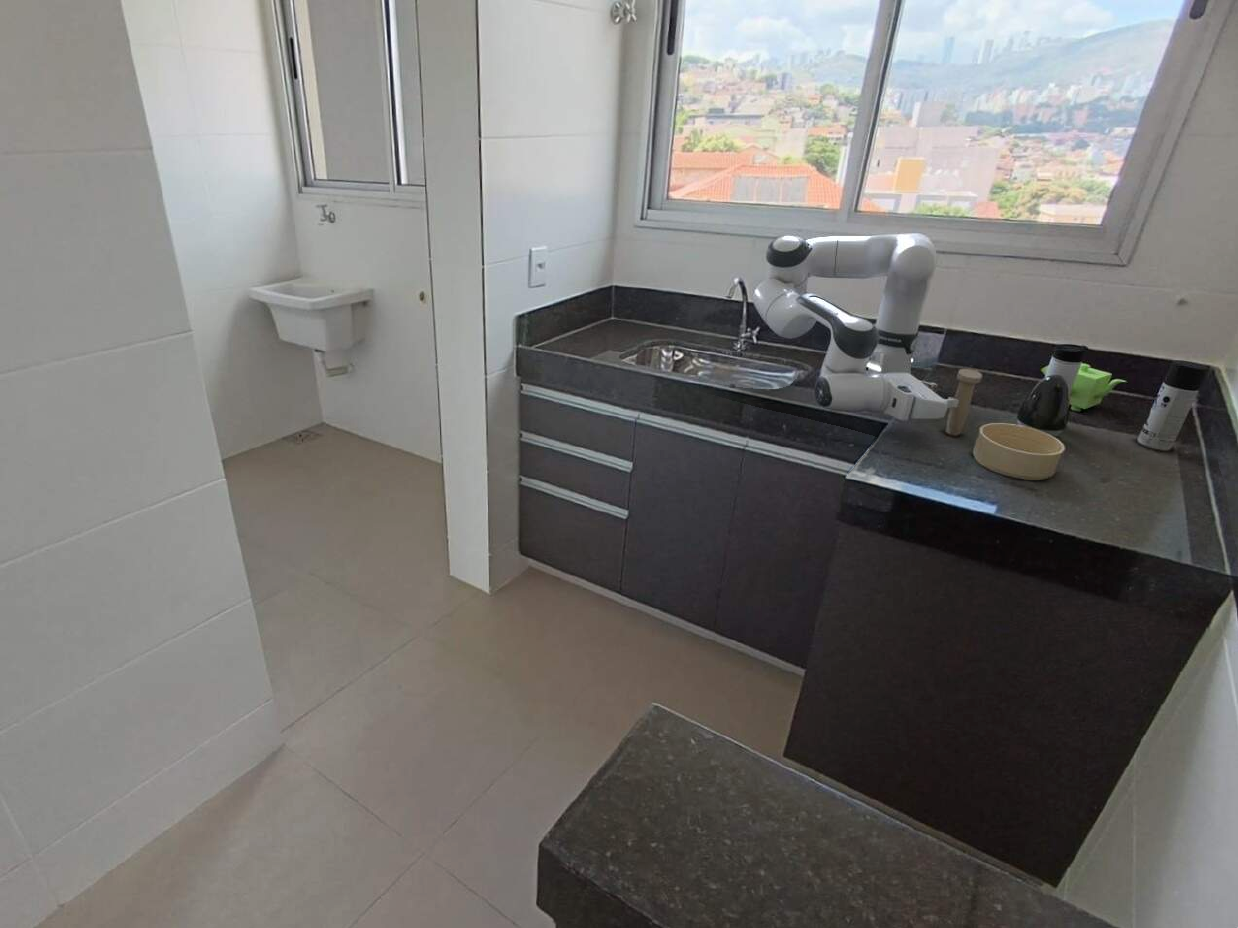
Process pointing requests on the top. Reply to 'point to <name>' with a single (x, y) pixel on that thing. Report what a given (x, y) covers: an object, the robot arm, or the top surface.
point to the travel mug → (1066, 362)
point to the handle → (962, 400)
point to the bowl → (1018, 451)
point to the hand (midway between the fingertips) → (946, 394)
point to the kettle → (1089, 387)
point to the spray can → (1172, 404)
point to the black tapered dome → (1047, 406)
